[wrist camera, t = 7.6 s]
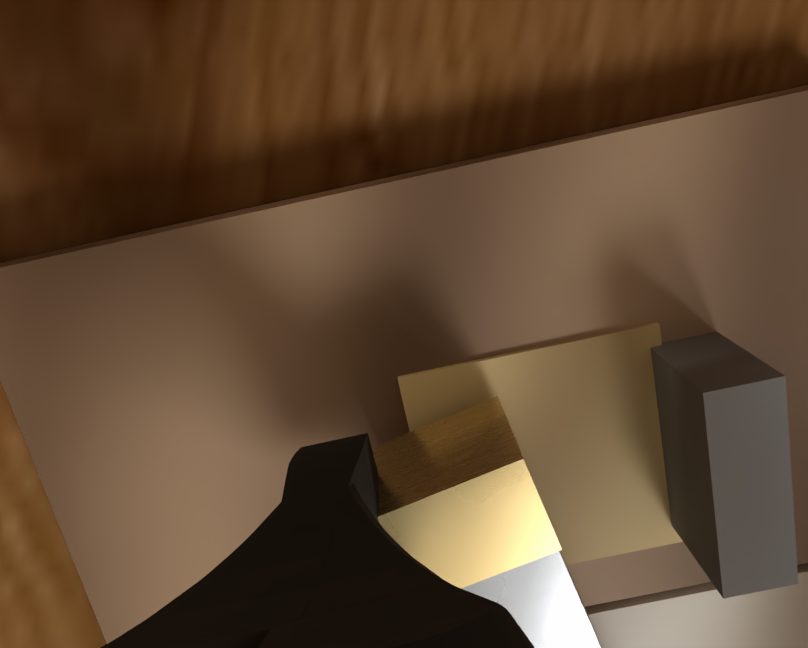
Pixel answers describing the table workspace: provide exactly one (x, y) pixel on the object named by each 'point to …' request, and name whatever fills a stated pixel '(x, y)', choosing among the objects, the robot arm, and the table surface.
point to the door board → (457, 365)
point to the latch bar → (481, 521)
